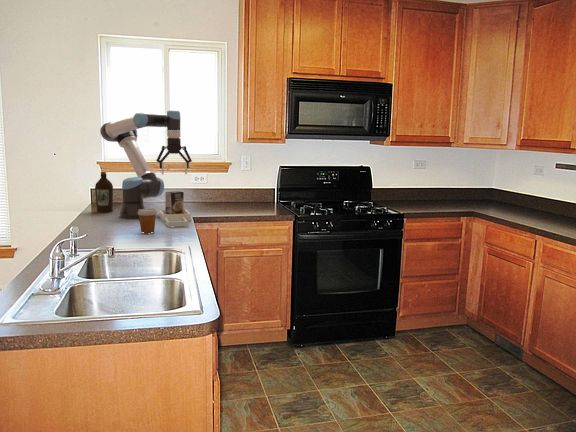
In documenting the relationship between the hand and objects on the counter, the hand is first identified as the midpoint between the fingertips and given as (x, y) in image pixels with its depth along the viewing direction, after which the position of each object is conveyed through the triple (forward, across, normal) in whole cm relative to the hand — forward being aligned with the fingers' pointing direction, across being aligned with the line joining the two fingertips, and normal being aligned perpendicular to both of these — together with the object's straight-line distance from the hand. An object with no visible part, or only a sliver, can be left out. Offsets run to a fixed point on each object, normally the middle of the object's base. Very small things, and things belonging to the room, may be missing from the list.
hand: (174, 174), depth 292 cm
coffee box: (+27, 0, 0) cm, 27 cm away
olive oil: (+27, -39, +34) cm, 58 cm away
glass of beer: (+27, -20, -38) cm, 50 cm away
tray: (+27, -2, -20) cm, 33 cm away
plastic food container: (+27, 0, 0) cm, 27 cm away
